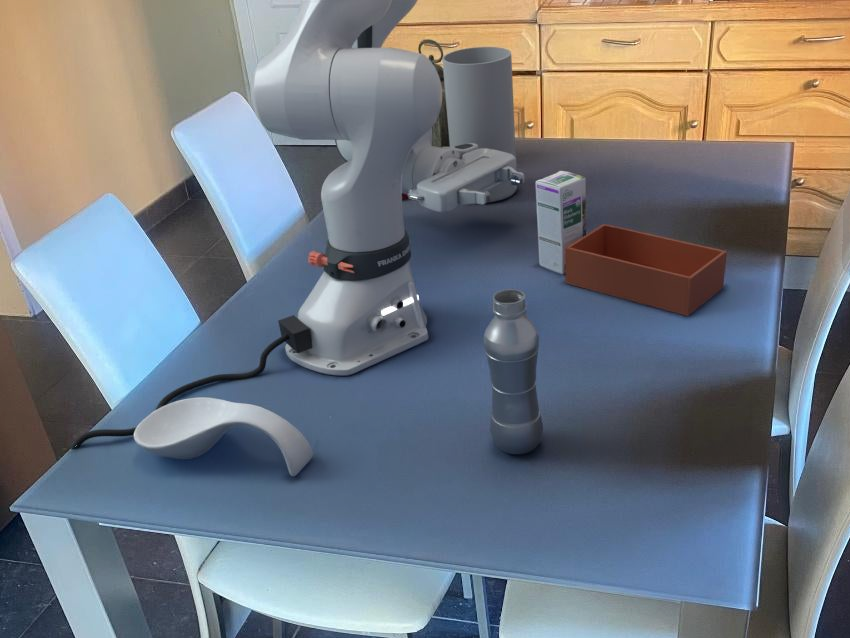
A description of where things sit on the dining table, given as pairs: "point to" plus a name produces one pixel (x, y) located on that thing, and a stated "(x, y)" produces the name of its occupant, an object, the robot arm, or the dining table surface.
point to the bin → (646, 268)
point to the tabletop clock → (442, 121)
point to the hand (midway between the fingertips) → (504, 188)
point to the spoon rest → (215, 429)
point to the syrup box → (559, 217)
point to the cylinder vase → (481, 103)
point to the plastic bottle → (513, 374)
